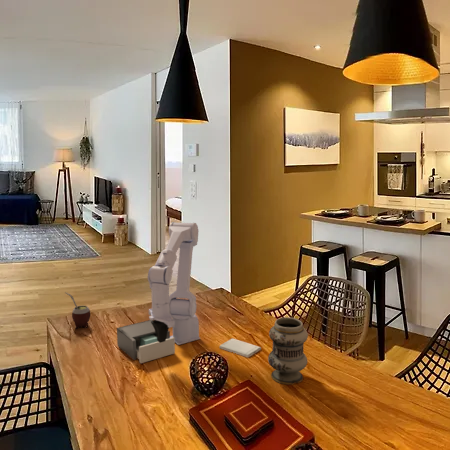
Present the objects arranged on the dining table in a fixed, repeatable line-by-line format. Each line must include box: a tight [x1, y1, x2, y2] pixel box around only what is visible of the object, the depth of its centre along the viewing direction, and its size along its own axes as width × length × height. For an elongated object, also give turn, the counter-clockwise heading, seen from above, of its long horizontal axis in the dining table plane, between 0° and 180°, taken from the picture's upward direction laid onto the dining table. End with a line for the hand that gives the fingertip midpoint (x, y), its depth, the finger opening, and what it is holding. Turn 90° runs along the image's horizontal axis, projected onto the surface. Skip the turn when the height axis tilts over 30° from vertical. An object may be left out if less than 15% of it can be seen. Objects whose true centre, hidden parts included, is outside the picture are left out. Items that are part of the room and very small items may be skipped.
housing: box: [116, 319, 171, 361], centre depth 159 cm, size 14×14×7 cm
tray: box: [134, 334, 176, 364], centre depth 157 cm, size 13×17×6 cm
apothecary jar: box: [267, 316, 309, 385], centre depth 137 cm, size 12×12×18 cm
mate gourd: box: [64, 291, 91, 330], centre depth 178 cm, size 8×8×15 cm
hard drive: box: [219, 338, 262, 358], centre depth 159 cm, size 2×8×12 cm
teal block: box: [140, 334, 157, 346], centre depth 156 cm, size 4×4×4 cm
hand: (161, 341), depth 147 cm, fingers closed
